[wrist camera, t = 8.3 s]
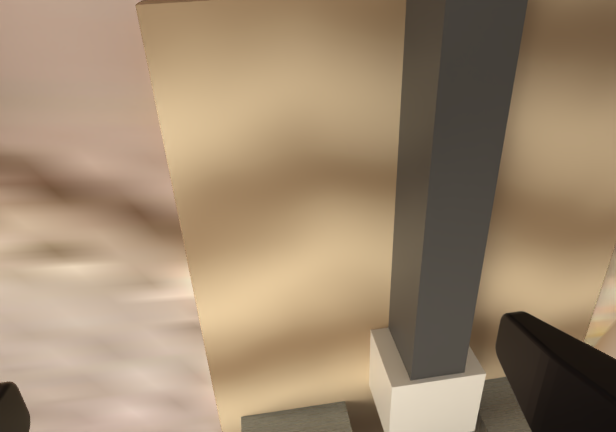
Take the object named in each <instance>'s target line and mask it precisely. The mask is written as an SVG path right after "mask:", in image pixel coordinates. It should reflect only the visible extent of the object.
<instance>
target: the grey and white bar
mask: <svg viewBox="0 0 616 432" xmlns="http://www.w3.org/2000/svg"><path fill="white" fill-rule="evenodd" d="M527 3H528V0H406V16H405V34H404V52H403V71H402V89H401V107H400V125H399V143H398V161H397V179H396V197H395V215H394V233H393V251H392V270H391V288H390V306H389V324H388V328H381V329H374V330H371V336H370V368H369V387H370V390H371V393H372V396H373V399H374V402H375V405H376V408H377V411H378V415H379V418H380V421H381V424H382V427H383V430H384V432H472V431H475V426H476V421H477V416H478V411H479V406H480V401H481V396H482V392H483V387H484V382H485V377H486V372H485V371H484V369H483V368H482V366H481V364H480V363H479V361H478V359H477V358H476V356H475V354H474V353H473V351H472V349H471V348H470V346H469V343H470V337H471V331H472V326H473V320H474V314H475V308H476V302H477V296H478V290H479V285H480V279H481V273H482V267H483V261H484V255H485V249H486V244H487V238H488V232H489V226H490V220H491V214H492V208H493V203H494V197H495V191H496V185H497V179H498V173H499V167H500V162H501V156H502V150H503V144H504V138H505V132H506V126H507V121H508V115H509V109H510V103H511V97H512V91H513V85H514V80H515V74H516V68H517V62H518V56H519V50H520V44H521V39H522V33H523V27H524V21H525V15H526V9H527Z"/></svg>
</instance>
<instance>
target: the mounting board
mask: <svg viewBox="0 0 616 432" xmlns="http://www.w3.org/2000/svg"><path fill="white" fill-rule="evenodd" d="M136 10H137V15H138V20H139V25H140V30H141V35H142V40H143V45H144V50H145V55H146V59H147V64H148V69H149V74H150V79H151V84H152V89H153V94H154V99H155V104H156V109H157V114H158V119H159V124H160V129H161V133H162V138H163V143H164V148H165V153H166V158H167V163H168V168H169V173H170V178H171V183H172V188H173V193H174V198H175V203H176V207H177V212H178V217H179V222H180V227H181V232H182V237H183V242H184V247H185V252H186V257H187V262H188V267H189V272H190V276H191V281H192V286H193V291H194V296H195V301H196V306H197V311H198V316H199V321H200V326H201V331H202V336H203V341H204V346H205V350H206V355H207V360H208V365H209V370H210V375H211V380H212V385H213V390H214V395H215V400H216V405H217V410H218V415H219V419H220V424H221V429H222V432H241V417H243V416H249V415H256V414H262V413H269V412H276V411H282V410H289V409H296V408H302V407H309V406H316V405H322V404H329V403H335V402H342V401H345V404H346V408H347V412H348V416H349V420H350V424H351V428H352V432H384V430H383V427H382V424H381V421H380V418H379V415H378V411H377V408H376V405H375V402H374V399H373V396H372V393H371V390H370V387H369V368H370V336H371V330H374V329H381V328H388V324H389V306H390V288H391V270H392V251H393V233H394V215H395V197H396V179H397V161H398V143H399V125H400V107H401V89H402V71H403V52H404V34H405V16H406V0H145V1H141V2H139V3H138V4H136ZM615 245H616V0H528V3H527V9H526V15H525V21H524V27H523V33H522V39H521V44H520V50H519V56H518V62H517V68H516V74H515V80H514V85H513V91H512V97H511V103H510V109H509V115H508V121H507V126H506V132H505V138H504V144H503V150H502V156H501V162H500V167H499V173H498V179H497V185H496V191H495V197H494V203H493V208H492V214H491V220H490V226H489V232H488V238H487V244H486V249H485V255H484V261H483V267H482V273H481V279H480V285H479V290H478V296H477V302H476V308H475V314H474V320H473V326H472V331H471V337H470V343H469V346H470V348H471V349H472V351H473V353H474V354H475V356H476V358H477V359H478V361H479V363H480V364H481V366H482V368H483V369H484V371H485V372H486V377H485V380H488V379H495V378H501V377H506V375H505V373H504V371H503V369H502V366H501V364H500V362H499V360H498V357H497V354H496V349H495V344H496V339H497V334H498V329H499V324H500V319H501V317H502V315H503V314H505V313H510V312H517V311H524V312H527V313H529V314H531V315H533V316H535V317H536V318H538V319H540V320H542V321H544V322H546V323H548V324H550V325H552V326H554V327H556V328H557V329H559V330H561V331H563V332H565V333H567V334H569V335H571V336H573V337H575V338H576V339H578V340H580V341H582V342H584V339H585V336H586V333H587V330H588V327H589V324H590V321H591V318H592V315H593V311H594V308H595V305H596V302H597V299H598V296H599V293H600V290H601V287H602V284H603V281H604V278H605V275H606V272H607V269H608V266H609V263H610V260H611V257H612V254H613V251H614V248H615Z"/></svg>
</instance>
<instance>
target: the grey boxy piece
mask: <svg viewBox="0 0 616 432" xmlns="http://www.w3.org/2000/svg"><path fill="white" fill-rule="evenodd" d="M241 432H352V428H351V424H350V420H349V416H348V412H347V408H346V404H345V401H342V402H335V403H329V404H322V405H316V406H309V407H302V408H296V409H289V410H282V411H276V412H269V413H262V414H256V415H249V416H243V417H241ZM472 432H532V431H531V429H530V428H529V425H528V423H527V421H526V419H525V417H524V415H523V413H522V411H521V408H520V406H519V404H518V402H517V400H516V397H515V395H514V393H513V391H512V389H511V386H510V384H509V382H508V380H507V377H501V378H495V379H488V380H485V382H484V387H483V392H482V396H481V401H480V406H479V411H478V416H477V421H476V426H475V431H472Z"/></svg>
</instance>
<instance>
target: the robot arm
mask: <svg viewBox="0 0 616 432" xmlns="http://www.w3.org/2000/svg"><path fill="white" fill-rule="evenodd" d="M495 349H496V354H497V357H498V360H499V362H500V364H501V366H502V369H503V371H504V373H505V375H506V377H507V380H508V382H509V384H510V386H511V389H512V391H513V393H514V395H515V397H516V400H517V402H518V404H519V406H520V408H521V411H522V413H523V415H524V417H525V419H526V421H527V423H528V425H529V428H530V429H531V431H532V432H616V359H614V358H613V357H611V356H609V355H607V354H605V353H603V352H601V351H599V350H597V349H595V348H594V347H592V346H590V345H588V344H586V343H584V342H582V341H580V340H578V339H576V338H575V337H573V336H571V335H569V334H567V333H565V332H563V331H561V330H559V329H557V328H556V327H554V326H552V325H550V324H548V323H546V322H544V321H542V320H540V319H538V318H536V317H535V316H533V315H531V314H529V313H527V312H524V311H517V312H510V313H505V314H503V315H502V317H501V319H500V324H499V329H498V334H497V339H496V344H495ZM29 429H30V414H29V411H28V409H27V407H26V404H25V402H24V400H23V398H22V396H21V393H20V391H19V389H18V387H17V385H16V384H15V383H13V382H2V383H0V432H29Z"/></svg>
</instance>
